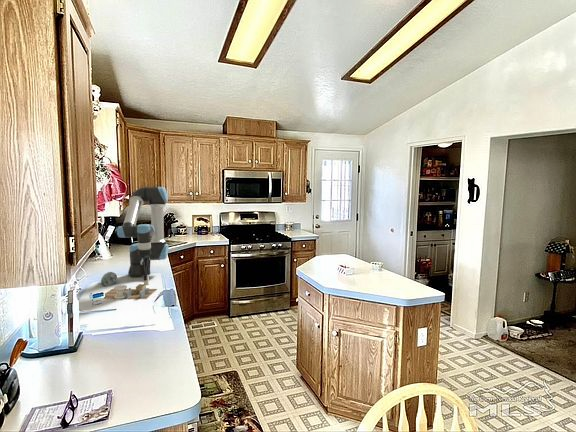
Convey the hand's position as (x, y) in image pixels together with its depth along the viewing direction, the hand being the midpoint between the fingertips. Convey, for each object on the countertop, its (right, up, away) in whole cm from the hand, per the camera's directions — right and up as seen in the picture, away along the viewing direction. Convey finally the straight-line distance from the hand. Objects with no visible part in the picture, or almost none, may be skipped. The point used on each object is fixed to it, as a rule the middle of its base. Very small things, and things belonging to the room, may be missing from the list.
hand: (146, 284), depth 225 cm
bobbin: (-9, -4, -17) cm, 19 cm away
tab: (0, -3, -8) cm, 8 cm away
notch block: (0, -4, -15) cm, 15 cm away
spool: (-29, -2, +10) cm, 31 cm away
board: (-7, -4, -11) cm, 14 cm away
